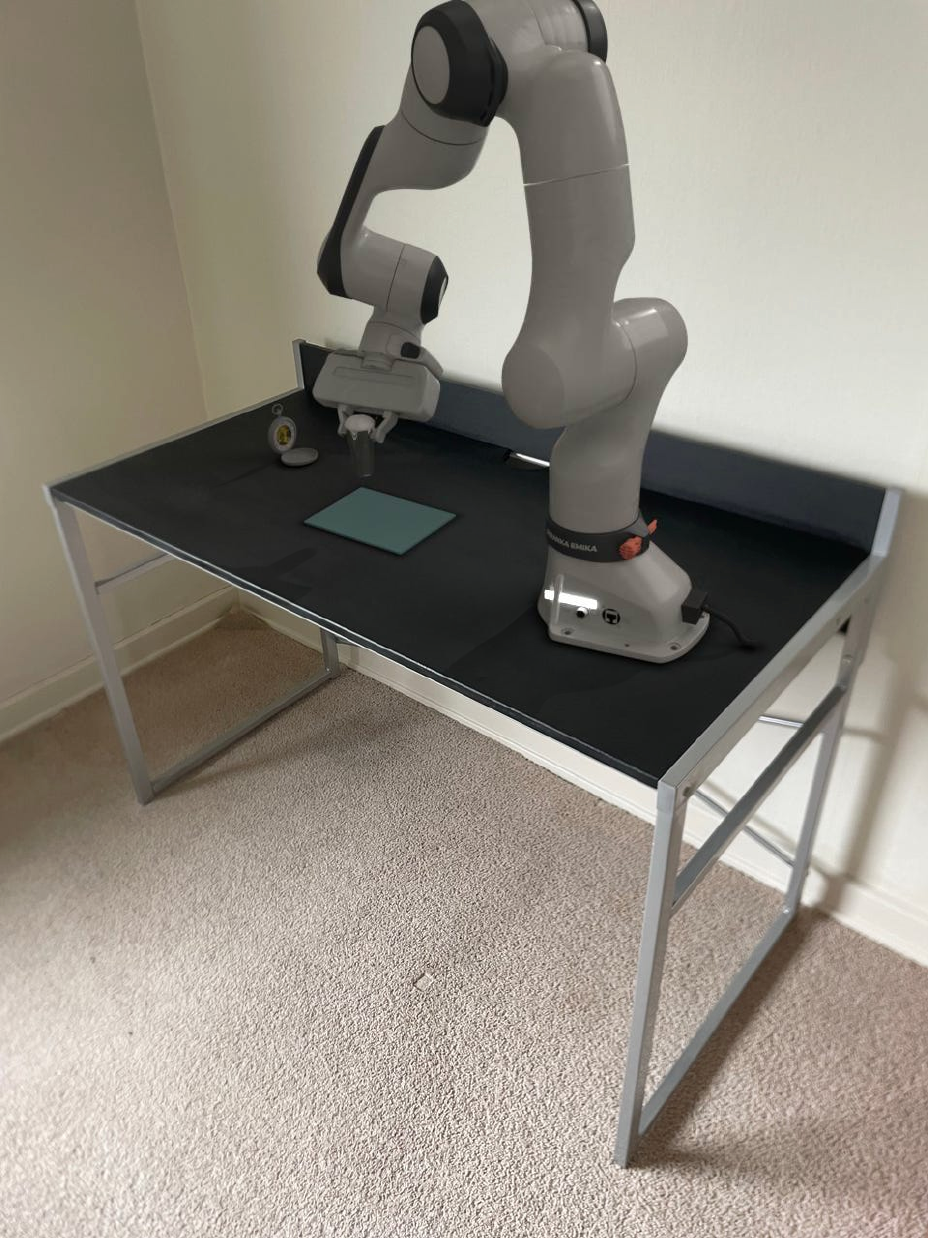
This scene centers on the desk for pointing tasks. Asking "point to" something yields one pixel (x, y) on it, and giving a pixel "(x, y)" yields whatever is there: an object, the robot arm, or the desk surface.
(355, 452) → the milkshake
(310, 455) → the pocket watch
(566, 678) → the desk surface
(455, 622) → the desk surface
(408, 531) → the mouse pad
